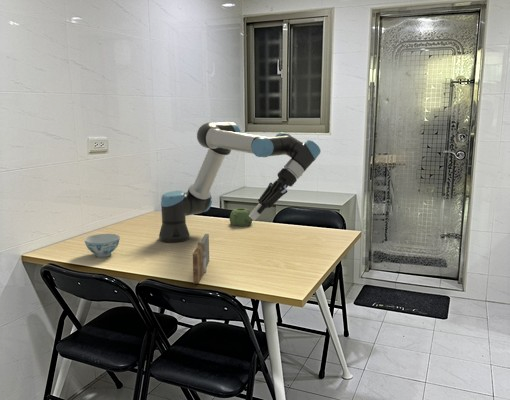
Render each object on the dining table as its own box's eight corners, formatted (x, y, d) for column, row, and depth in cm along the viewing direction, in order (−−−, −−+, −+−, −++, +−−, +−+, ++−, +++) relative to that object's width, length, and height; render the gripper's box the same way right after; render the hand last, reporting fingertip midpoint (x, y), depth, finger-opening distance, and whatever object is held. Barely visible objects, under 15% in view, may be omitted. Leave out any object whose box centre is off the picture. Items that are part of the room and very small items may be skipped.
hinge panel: (203, 260, 201) (203, 233, 198) (210, 261, 201) (210, 233, 198) (198, 273, 186) (197, 244, 183) (205, 273, 186) (204, 244, 183)
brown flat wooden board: (199, 269, 189) (198, 241, 186) (206, 269, 188) (206, 241, 186) (191, 283, 174) (190, 253, 171) (199, 283, 173) (198, 253, 171)
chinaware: (84, 252, 213) (83, 235, 212) (118, 248, 219) (117, 232, 218) (86, 261, 200) (85, 244, 198) (123, 257, 206) (122, 240, 204)
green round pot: (236, 220, 273) (236, 206, 272) (256, 222, 267) (256, 208, 266) (222, 226, 259) (222, 211, 258) (243, 229, 253) (243, 213, 252)
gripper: (304, 182, 181) (264, 228, 179) (288, 177, 194) (251, 220, 191) (292, 169, 178) (251, 215, 176) (277, 165, 191) (239, 208, 188)
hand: (251, 218), depth 183 cm, fingers closed
